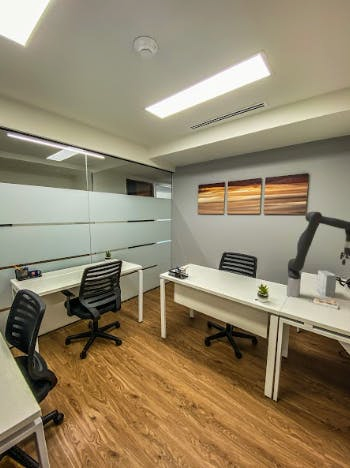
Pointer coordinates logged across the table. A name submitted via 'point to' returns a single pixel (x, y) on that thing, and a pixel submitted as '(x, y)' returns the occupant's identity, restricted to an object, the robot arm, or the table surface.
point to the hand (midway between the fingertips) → (348, 266)
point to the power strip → (325, 304)
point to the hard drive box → (326, 284)
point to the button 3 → (333, 302)
